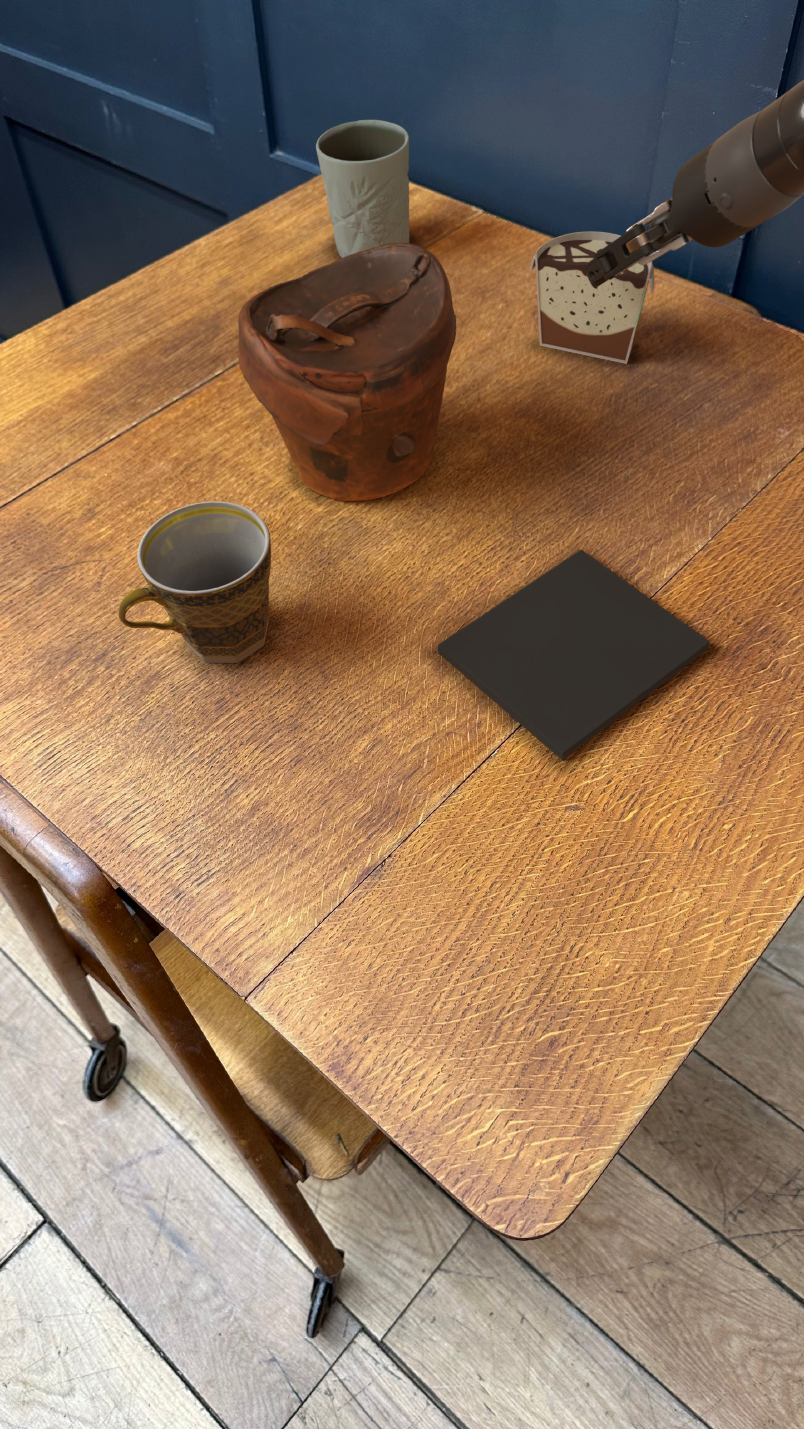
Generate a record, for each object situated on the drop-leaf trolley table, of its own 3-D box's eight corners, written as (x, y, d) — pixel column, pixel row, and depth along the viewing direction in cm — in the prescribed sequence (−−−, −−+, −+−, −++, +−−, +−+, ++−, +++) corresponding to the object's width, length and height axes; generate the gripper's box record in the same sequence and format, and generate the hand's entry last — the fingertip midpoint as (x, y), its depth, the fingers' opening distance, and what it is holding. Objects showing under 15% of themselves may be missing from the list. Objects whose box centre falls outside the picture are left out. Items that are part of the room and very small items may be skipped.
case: (225, 504, 94) (181, 329, 80) (325, 381, 105) (302, 207, 91) (400, 555, 89) (387, 376, 75) (487, 420, 100) (490, 241, 86)
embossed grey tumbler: (419, 263, 118) (415, 155, 108) (332, 274, 118) (319, 166, 108) (407, 220, 124) (401, 113, 115) (324, 230, 124) (311, 124, 114)
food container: (658, 334, 107) (673, 240, 99) (641, 367, 104) (655, 273, 96) (546, 311, 111) (552, 219, 103) (526, 342, 107) (530, 250, 99)
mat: (580, 557, 88) (581, 549, 87) (708, 649, 81) (710, 641, 80) (437, 652, 82) (437, 644, 81) (562, 760, 75) (563, 752, 75)
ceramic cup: (242, 573, 89) (219, 482, 81) (313, 635, 84) (297, 545, 76) (114, 652, 84) (76, 564, 76) (182, 723, 79) (150, 637, 71)
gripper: (782, 105, 85) (656, 196, 100) (664, 163, 80) (550, 250, 95) (818, 192, 86) (688, 269, 101) (705, 255, 81) (586, 326, 96)
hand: (622, 260), depth 98 cm, fingers open, 8 cm apart
